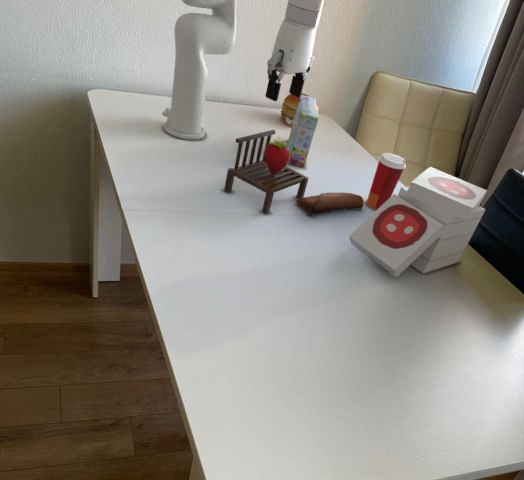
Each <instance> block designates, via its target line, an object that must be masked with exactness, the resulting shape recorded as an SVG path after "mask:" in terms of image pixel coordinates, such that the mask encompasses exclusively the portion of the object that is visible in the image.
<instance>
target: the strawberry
mask: <svg viewBox="0 0 524 480" xmlns="http://www.w3.org/2000/svg"><path fill="white" fill-rule="evenodd" d="M277 138H278V139H280V137H279V135H277ZM273 141H274V142H270V143H269V144H268V145H267V146H266V147H265V146H264V150H263V154H264V158H265V161H266V164H267V166H268V168H269V170H270V173H271V174H272V175H275V174H276V173H278V172H279V171H281V170H282V169H283V168H284V167H285V166H286V167H287V165H288V164H289V160H290V153H289V146H288V144H286V142H281V141H279V140H276V139H273Z"/></svg>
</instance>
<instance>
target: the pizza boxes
mask: <svg viewBox="0 0 524 480" xmlns="http://www.w3.org/2000/svg"><path fill="white" fill-rule="evenodd" d="M487 192H488V189H484V188H482V187H480V186H477V185H475V184H473V183H471V182H468V181H465V180H463V179H461V178H459V177H457V176H453V175H452V174H449V173H447V172H445V171H442V170H439V169H437V168H434V167H432V166H429V167H427V168H426V169H425V170H424V171H423V172H422V173H420V174H419V175H417V176H416V177H415V178H414V179H413V180H412V181H411V182H410V183H409V185H405V186H401V187H400V188H399V191H398V194H396V193H393V194H392V196H391V197H390V198H389V199H388V200H387V201H386V202H385V203H384V204H383V205H382V206H381V207H380V208H379V209H377V210H375V211H374V212H373V213H372V214H371V215H369V217H368V218H367V219H366V220H365V221H363V222H362V223H361V224H360V225H359V226H358V227H357V228H356V229H355V230H354V231H352V233H351V234H350V235H348V238H349V241H350V244H351V245H352V246H354V247H355V248H356V249H358V251H360V252H361V253H363V254H364V255H365V256H367V257H368V258H370V259H371V260H372V261H373V262H375V263H376V264H378V265H379V266H380V267H382V268H383V269H384V270H386V271H387V272H388V273H389V274H391V275H392V276H393V277H394V278H398V277H399V275H401V274H402V273H403V272H404V271H405V270H406V269H407V268H409V266H412V267H414V268H415V269H416V270H418V271H419V272H421V273H422V274H426V273H429V272H432V271H435V270H438V269H441V268H444V267H447V266H451V265H455V264H457V263H459V261H460V260H461V257H462V256H463V254H464V252H465V250H466V248H467V246H468V244H469V243H470V240H471V239H472V237H473V235H474V233H475V232H476V229H477V227H478V225H479V223H480V221H481V220H482V217H483V216H484V214H485V212H486V208H484V207H482V206H480V205H481V203H482V201H483V200H484V198H485V196H486V194H487Z"/></svg>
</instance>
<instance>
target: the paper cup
mask: <svg viewBox="0 0 524 480" xmlns="http://www.w3.org/2000/svg"><path fill="white" fill-rule="evenodd" d="M377 161H378V162H377V166H376V170H375V173H374V176H373V179H372V183H371V185H370V186H371V187H370V190H369V193H368V196H367V201H366V205H367V206H368V207H369V208H371V209H373V210H375V211H376V210H377V209H379V208H380V207H381V206H382V205H383V204H384V203H385V202H386V201H387V200H388V199H389V198H390V197H391V196H392V195H393V194H394V191H395V189H396V187H397V185H398V182H399V181H400V179H401V177H402V174H403V172H404V170H405V169H406V168H407V165H406V164H407V161H406V159H405V158H404V157H402V156H400V155H398V154H395V153H390V152H383V153H382V154H381V155H379V156H378V157H377Z"/></svg>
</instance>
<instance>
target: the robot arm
mask: <svg viewBox="0 0 524 480" xmlns="http://www.w3.org/2000/svg"><path fill="white" fill-rule="evenodd" d="M181 1H182V3H183V4H184V5H186V6H188V7H193V8H200V9H207V10H211V13H212V14H207V13H198V12H187V13H183V14H181V15H180V16H179V17H178V18H177V19H176V20H175V23H174V46H175V48H174V49H175V55H174V56H175V57H174V71H173V83H172V94H171V103H170V107H166V108H165V109H164V110H163V111H162V112H161V115H162V116H163V117H165V118H167V119H166V122H164V123H163V130H164V131H165V132H166V133H167V134H169V135H170V136H172V137H176V138H179V139H182V140H188V141H189V140H193V141H194V140H201V139H203V138H205V136H206V130H205V128H204V127H202V122H203V116H204V115H203V114H204V107H205V100H206V93H207V86H208V85H207V84H208V77H209V70H208V66H207V63H206V61H205V58H204V56H205V55H217V56H218V55H221V56H222V55H227V54H229V53H231V52H232V51H233V49H234V48H235V45H236V39H237V38H236V37H237V4H238V3H237V2H238V0H181ZM324 2H325V0H288V1H287V4H286V9H285V14H284V19H282V21H281V24H280V26H279V29H278V32H277V35H276V38H275V42H274V45H273V48H272V52H271V57H270V58H269V59H268V60H267V63H266V64H267V71H266V72H267V79H268V82H267V86H266V91H265V98H266V99H268V100H271V101H273V102H277V101H278V100H279V95H280V91H281V86H282V83H281V81H282V79H283V78H284V77H285V75H292V74H294V75H292V77H291V78H292V79H291V82H290V87H289V91H288V93H289V95H290V94H292V95H294V96H297V97H300V96H301V93H303V88H304V86H305V85H304V84H305V81H306V80H307V78H308V73H309V72H310V71H311V67H312V65H313V64H314V61H315V58H314V56H313V51H314V45H315V40H316V34H317V29H318V26H319V22H320V19H321V14H322V11H323V6H324Z"/></svg>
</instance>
